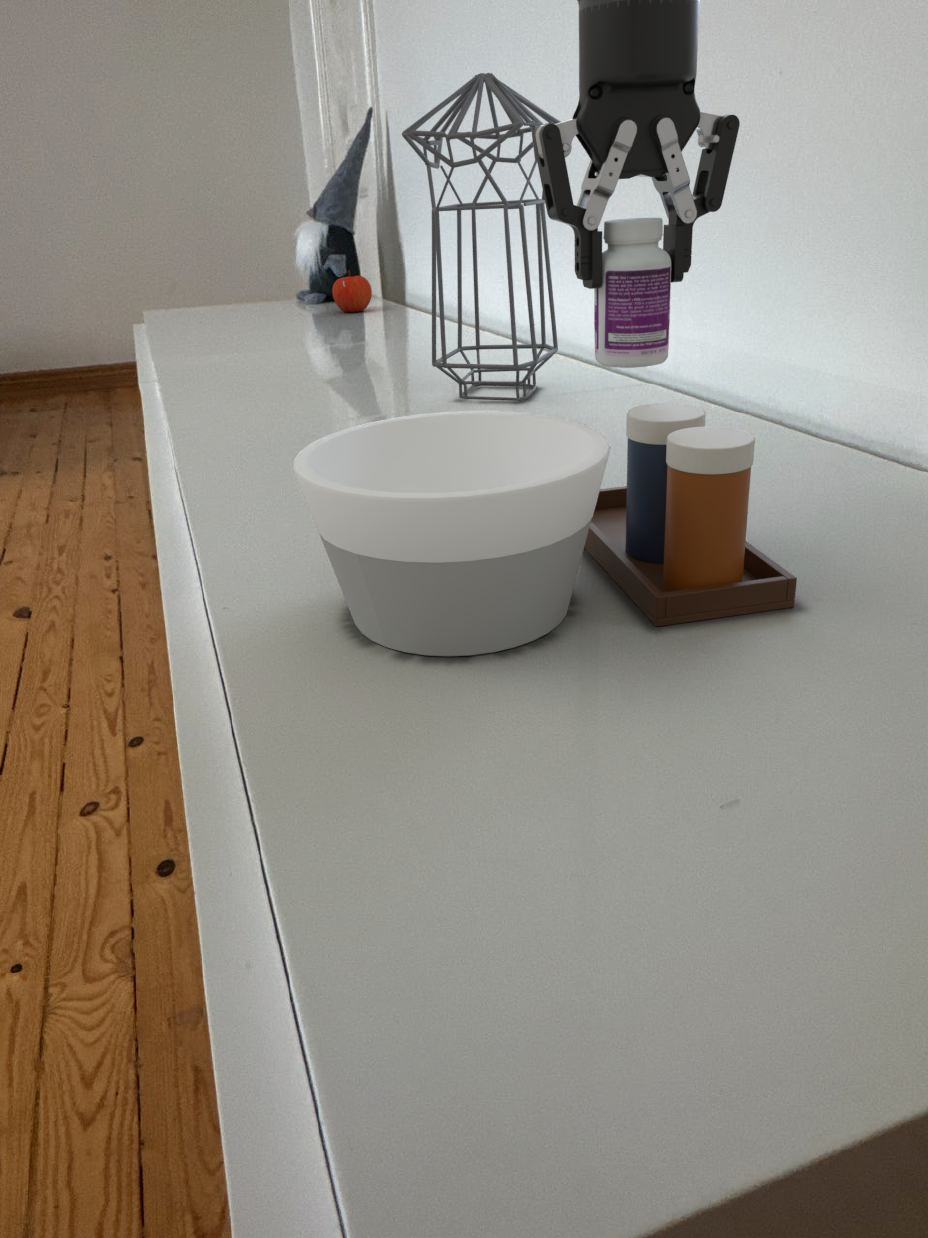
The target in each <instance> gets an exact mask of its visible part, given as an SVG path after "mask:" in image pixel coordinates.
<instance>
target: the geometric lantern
mask: <svg viewBox="0 0 928 1238" xmlns="http://www.w3.org/2000/svg"><path fill="white" fill-rule="evenodd" d="M484 85H485V89H486V94H487V100H488V103H489V109H490V110H489V111H490V114H491V119H492V125H493V127H491V128H487V129H483V130H478V125H479V119H480V112H481V106H482V98H483V92H484ZM493 95H494V96H495V98H496V99H497V100H498V102H499V105H500V106H501V107H502V110H504V112H505V114H506V116H507V118H508V119H509V121H510V123H508V124H505V125H500V126H499V123H498V117H497V111H496V108H495V102H494V97H493ZM475 97H476V100H475V107H474V114H473V121H472V126H471V131H459V129H460V128H461V126H462V123H463V121H464V119H465V117H466V115H467V113H468V111H469V109H470V107H471V105H472V103H473V101H474V99H475ZM451 102H453V103H452V104H451V106H450V107H449V108H448V109H447V110H446V112H445V113H444V114H443V115H442V116H441V117H440V118H439V119H438V121H437V122H436V123H435V124H434V125H433V126H432V128H431V129H430V130H418V129H419V128H420V127H422V125H424V124H425V123H427V121H429V120H430V119H431V118H432V117H434V116H435V115H436V114H437V113H439V112H440V111H441V110H443V109H445V107H446V106H448V105H449V104H450V103H451ZM533 112H534V113H535V114H536V115H538V116H539V117H540V118H541V119H543V120H544V121H545V122H546V123H543V121H541V120H540V119H539V118H538V117H537V116H536V115H535V114H534V113H533ZM561 122H562V121H561V120H559V119H558V118H556V117H554V116H553V115H551V114H550V113H548V112H547V111H545V110H544V109H543V108H541V107H540V106H538V105H537V104H535V103H533V102H532V101H530V100H529V99H528V98H526V97H524V96H523V95H522V94H520V93H519V92H517V91H515V89H513V88H511V87H510V86H508V85H507V84H505V82H502V81H501V80H500V79H498V78H497V77H496V75H494V74H493V73H492V72H487V73H484V72H480V73H478V74H475V75H474V76H473V77H472V78H470V79H469V80H468V81H467V82H466V83H464V84H463V85H462V86H461V87H459V88H458V89H456V90H455V91H454V92H453V93H452V94H451V95H449V96H448V97H446V98H445V99H444V100H443V101H442V102H440V103H438V104H437V105H436V106H435V107H433V108H432V109H431V110H429V111H428V112H427V113H425V114H424V115H423V116H421V117H420V118H419V119H417V120H416V121H414V123H412V124H411V125H409V126H408V127H407V128H406V129H405V130H403V131H402V133H401V137H402V138H403V139H404V140H405V141H406V143H407V144H408V145H409V146H410V147H411V149H412V150H413V151H414V152H415V153H416V154H417V156H418V157H419V158H420V159H421V161H422V162H423V163H424V165H425V166H426V172H427V180H428V188H429V196H430V204H431V365H432V367H434V368H437V369H438V370H439V371H440V372H442V373H444V375H446V376H448V377H449V378H450V379H451V380H453V381H454V382H455V383H457V384H458V391H459V392H458V394H459V396H458V397H459V399H462V400H477V401H479V400H480V401H481V400H483V401H511V402H521V401H524V400H528V398H529V397H531V395H532V394H533V393H534V392H535V391H536V390H537V389H538V385H537V380H536V373H537V371H538V370H539V369H540V368H541V367H543V365H545V363H547V362H548V361H549V360H550V359H551V358H552V357H553V356H554V355H555V354H556V353H557V352H558V351H559V344H558V343H559V342H558V335H557V334H558V332H557V323H556V311H555V301H554V291H553V281H552V269H551V259H550V250H549V239H548V228H547V218H546V204H545V199H544V194H543V190H542V193H541V198H539V196H538V194H537V192H536V190H535V188H534V186H533V184H532V182H531V180H532V177H533V174H534V171H535V169H536V167H537V165H538V163H537V158H536V153H535V148H534V143H533V138H532V137H531V140H532V141H531V142H530V143H529V144H528V145H527V146H526V147H525V148H524V149H523V144H524V135H525V134H527V133H531V135H532V134H533V131H534V129H535V128H536V127H537V126H540V125H546V124H557V123H561ZM443 124H444V125H443ZM451 124H452V125H451ZM442 125H443V126H442ZM450 126H451V127H450ZM523 126H524V127H525V128H522V127H523ZM440 127H441V129H440V130H439V128H440ZM449 127H450V129H449ZM448 129H449V131H448V132H447V130H448ZM437 130H439V131H437ZM446 132H447V133H446ZM503 132H505V133H503ZM518 137H519V145H518V155H516V156H515V157H503V156H502V157H501V156H500V155H501V146H502V144H503V143H504V142H505V141H506V140H507V139H512V138H518ZM431 138H433V139H432V140H431ZM444 138H445V141H446V142H445V143H446V147H447V151H448V157H449V158H448V157H446V156H445V155H444V154H442V150H443V149H442V147H443V142H444V141H443V139H444ZM476 139H482V140H495V141H494V142H493V143H491V144H490V145H488V147H487V148H485V149H484V148H482V147H481V146H480V145H477V144H476V142H475V140H476ZM451 140H458V141H460V142H461V143H463V144H465V145H467V146H468V147H470V148H471V151H472V155H473V158H467V159H464V160H459V161H454V156H453V155H454V154H453V150H452V145H451ZM415 142H416V143H417V144H416V143H415ZM418 145H420V146H421V147H422V150H421V149H420V148H419V146H418ZM495 149H496V155H494V154H492V152H493V151H494V150H495ZM532 149H533V154H534V155H533V156H534V162H533V164H532V167H531V169H530V172H529V174H528V175H527V173H526V171H525V169H524V167H523V165H522V163H521V162H522V158H524V157H525V156H526V155H527V154H528V153H529V152H530V151H531V150H532ZM428 152H429V153H431V154H432V155H433V161H430V160H429V159H428ZM477 152H478V153H479V154H478V153H477ZM485 157H486V158H488V159H489V160H491V163H490V165H489V167H488V168H487V166H486V164H485V163H484V161H483V159H484V158H485ZM441 161H442V162H443V163H444V164H445V165H447V166H449V167H450V170H449V173H447V171H446V169H445V167H444V166H443V165H441ZM497 163H508V164H517V165H518V167H519V169H520V171H521V173H522V175H523V176H524V178H525V180H526V182H525V185H524V186H523V190H522V192H521V195H520V197H519V199H515V200H514V199H512V200H507V198H506V197H505V195H504V194H503V192H502V190H501V188H500V187H499V185H498V184H497V182H496V181H495V179H494V177H493V175H492V172H493V170H494V168H495V166H496V164H497ZM474 164H478V165H479V166H480V169H481V170H482V171H483V173H484V177H483V180H482V181H481V183H480V185H479V187H478V189H477V192H476V194H475V196H474V198H473V199H472V202H463V201H462V200H461V197H460V196H459V194H458V192H457V190H456V188H455V187H454V185H453V183H452V181H451V177H452V175H453V173H454V170H455V168H460V167H465V166H469V165H474ZM432 169H436V170H439V169H441V171H442V173H443V175H444V177H445V179H446V180H445V183H444V185H443V188H442V190H441V193H440V196H439V199H438V201H437V203H436V197H435V189H434V181H433V173H432ZM488 181H489V183H490V184H491V186H492V188H493V189H494V191H495V193H496V194H497V196H498V197H499V199H500V200H499V201H498V200H497V201H484V202H483V201H482V202H478V200H479V198H480V196H481V194H482V192H483V191H484V188H485V186H486V184H487V182H488ZM448 185H449V186H450V188H451V190H452V192H453V193H454V195H455V197H456V199H457V201H458V203H454V204H448V205H442V206H441V203H442V201H443V198H444V196H445V193H446V190H447V188H448ZM528 187H529V188H530V190H531V192H532V194H533V196H534V198H527V199H524V197H525V194H526V192H527V189H528ZM534 205H535V219H536V222H535V223H536V243H537V265H538V284H539V285H538V288H539V289H538V290H539V314H540V336H541V337H540V340H541V343H537V339H536V330H535V329H536V328H535V318H534V317H535V316H534V306H533V296H532V284H531V283H532V282H531V273H530V262H529V261H530V260H529V252H528V240H527V230H526V229H527V228H526V217H525V207H529V206H534ZM497 209H498V210H499V209H503V222H504V223H503V224H504V240H505V254H506V255H505V256H506V270H507V271H506V272H507V286H508V302H509V315H510V316H509V317H510V332H511V333H510V334H511V344H481V335H480V329H481V328H480V305H479V304H480V303H479V301H480V300H479V299H480V298H479V275H478V273H479V272H478V244H477V243H478V241H477V217H476V216H477V215H476V213H477V212H476V210H497ZM509 210H518V214H519V225H520V238H521V248H522V256H523V257H522V259H523V269H524V279H525V288H526V289H525V291H526V301H527V313H528V322H529V335H530V343H522V344H521V343H519V344H518V340H517V339H518V338H517V326H516V325H517V324H516V311H515V310H516V309H515V293H514V280H513V277H514V276H513V263H512V247H511V233H510V232H511V231H510V221H509V220H510V219H509ZM455 211H456V257H457V259H456V262H457V263H456V264H457V265H456V266H457V267H456V268H457V272H456V273H457V275H456V277H457V347H456V348H455V349H453V350H452V351H450V352H447V343H446V342H447V341H446V339H447V338H446V323H445V322H446V321H445V302H444V282H443V280H444V279H443V263H442V244H441V243H442V242H441V240H442V239H441V224H440V223H441V221H440V212H455ZM462 211H471V241H472V243H471V245H472V272H473V273H472V275H473V299H474V301H473V303H474V330H475V332H474V333H475V345H464V346H463V264H462V263H463V261H462V260H463V259H462V258H463V255H462V253H463V251H462V249H463V248H462V246H463V245H462V243H463V241H462V231H463V230H462ZM543 250H544V261H545V272H546V282H547V283H546V284H547V292H548V303H549V304H548V305H549V312H550V323H551V333H552V345H551V344H547V340H546V339H547V338H546V337H547V335H546V313H545V312H546V310H545V308H546V307H545V287H544V263H543V262H544V261H543ZM437 289H438V290H437ZM437 291H438V307H439V309H438V310H439V329H440V345H441V346H440V347H441V357H439V358H437ZM521 349H522V350H523V349H524V350H527V349H528V350H529V349H531V351H532V352H531V353H532V360H531V361H527V362H523V363H520V364H519V357H518V356H519V355H518V350H521ZM537 349H539V350H537ZM480 350H512V359H513V360H512V361H513V364H498V363H497V364H491V363H490V364H489V363H481V357H480V356H481V355H480ZM544 350H549V351H547V352H546V353H544V354H543V355H542V353H543V352H544ZM464 351H476V363H471V362H470V360H469V359H468V357H467V355H466V353H465V352H464ZM458 353H460V354H461V356H462V358H463V360H464V361H465V362H466V363H448V359H450V358H451V357H453V356H455V355H456V354H458ZM446 369H447V370H448V371H447V370H446ZM454 369H467V370H468V369H470V371H469V372H468V373H467V374H465V375H464V376H463V377H462V378H461V376H459V374H457V372H456V371H454ZM526 371H527V373H526V374H525V375H524V377H523V378H522V380H520V372H526ZM497 372H499V373H501V372H515V381H509V380H508V381H503V380H502V381H500V380H499V381H497V380H496V381H495V380H494V381H493V380H491V381H490V380H484V381H483V380H482V373H497ZM475 373H478V375H477V377H478V378H477V380H475ZM469 377H470V379H471V380H467V379H468V378H469ZM531 377H532V384H531ZM467 385H470V386H469V387H468V386H467ZM477 387H512V388H513V387H515V397H508V396H507V397H504V396H474V395H468V393H469V392H470V391H471V390H472V389H474V388H477ZM521 387H522V396H521V397H520V388H521ZM527 388H531V389H530V390H529V392H528V393H527Z"/></svg>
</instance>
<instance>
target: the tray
mask: <svg viewBox="0 0 928 1238" xmlns="http://www.w3.org/2000/svg"><path fill="white" fill-rule="evenodd" d="M626 501H627V485H623V486H617V487H608V488H600V491H599V495H598V499H597V503H596V506H595V510H594V514H593V517H592V519H591V523H590V527H589V531H588V534H587V538H586V542H585V546H584V549H585V550H586V551H587V553H589V555H590V556H591V557H592V559H594V560H595V561H596V562H597V563H598V565H600V567H601V568H602V569H603V570H604V571H605V572H606V574H608V576H609V577H610V578H611V579H612V580H613V581H614V582H615V583H616V584H617V585H618V587H619V588H620V589H621V590H622V591H623V592H624V593H625V594H626V595H627V597H629V599H630V600H631V601H632V602H633V603H634V604H635V605H636V606H637V607H638V609H639V610H640V611H641V612H642V613H643V614H644V615H645V616H646V617H647V618H648V619H649V620H650V622H651V623H652V624H653V625H654V626H655V627H663V626H670V625H677V624H685V623H693V622H699V621H705V620H713V619H718V618H726V617H734V616H740V615H746V614H755V613H760V612H761V613H763V612H768V611H774V610H782V609H783V610H784V609H789V608H794V607H795V599H796V591H797V583H798V578H797V577H796V576H794V575H793V574H792V573H791V572H789V571H788V570H786V569H785V568H783V567H782V566H781V565H780V564H778V563H777V562H776V561H774V560H773V559H771V558H770V557H769V556H767V554H764V553H763V552H762V551H760V550H759V549H758V548H756V547H755V546H753V545H752V544H751V543H749V541H747V540H746V542H745V555H744V568H743V581H742V582H737V583H730V584H722V585H715V586H708V587H701V588H693V589H686V590H679V591H671V592H665V590H664V588H663V572H664V563H651V562H645V561H641V560H638V559H635V558H633V557H631V556H629V555H628V554H627V552H626Z"/></svg>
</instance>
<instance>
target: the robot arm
mask: <svg viewBox="0 0 928 1238" xmlns="http://www.w3.org/2000/svg"><path fill="white" fill-rule="evenodd" d="M700 1H701V0H576V2H577V5H578V95H579V96H578V103H577V106H576V107H575V111H574V113H573V115H572V118H571V119H568V120H564V121H561V123H557V124H547V123H545V124H546V125H540V126H537V127H536V128H535V129H534V131H533V134H532V133H531V139H532V138H533V140H532V141H533V143H534V148H535V153H536V158H537V168H538V173H539V178H540V184H541V189H542V191H543V194H544V199H545V204H544V205H545V210H546V214H547V216H548V218H549V219H550V220H552V221H556V222H559V223H562V224H565V225H568V226H569V227H570V228H571V229H572V230H573V235H574V272H575V276H576V278H577V279H578V280H581V281H582V286H583V287H584V288H586V289H589V290H592V289H593V290H594V289H595V288H601V285H602V252H603V231H602V230H599V226H600V225H601V221H602V218H603V216H604V213H605V210H606V207H607V205H608V202H609V200H610V198H611V197H612V196H613V194H614V192H615V191H616V187H617V184H618V181H619V180H626V179H627V180H628V179H632V178H634V177H639V178H651V181H652V183H653V187H654V189H655V190H656V192H657V193H658V195H659V197H660V199H661V202H662V203H661V204H662V206H663V209H664V211H665V214H666V217H667V219H668V222H667V223H668V224H663V236H662V237H663V238H662V249H663V250H665V251H666V252H667V253H668V254H669V256H670V259H671V284H672V283H681V282H683V280H684V276H685V275H684V274H686V273H689V271H690V269H691V266H692V255H693V254H692V253H693V250H692V249H693V231H694V229H693V228H694V224H695V222H696V221H697V220H698V219H699V218H701V217H702V216H705V215H707V214H709V213H715V212H717V211H719V210H720V209H721V207H722V205H723V201H724V196H725V191H726V187H727V182H728V178H729V174H730V169H731V166H732V161H733V156H734V153H735V149H736V143H737V139H738V135H739V130H740V119H739V117H738V116H737V115H735V114H722V115H719V114H718V115H717V114H714V113H713V114H712V113H708V112H702V111H701V107H700V105H699V104H698V101H697V98H696V92H695V89H696V88H695V87H696V80H697V73H698V71H697V70H698V50H699V49H698V48H699V24H700V5H701V4H700V3H701V2H700ZM695 131H696V134H697V145H698V147H699V148H700V149H701V153H700V157H699V161H698V166H697V167H698V168H697V171H696V177H695V181H694V186H693V189H692V190H691V188H690V184H691V177H690V175H689V171H688V168H687V165H686V163H685V159H684V155H683V153H682V152H683V151H684V150H685V148H686V146H687V144H688V142H689V141H690V139H691V138H692V136H693V134H694V133H695ZM575 137H576V139H577V140H578V142H579V143H580V145H581V146H582V148H583V150H584V151H585V153H586V154H587V156H588V157H589V159H590V160H589V163H588V166H587V168H586V171H585V174H584V177H583V180H582V183H581V185H580V186H581V187H580V190H581V191H580V195H579V198H578V201H577V203H576V204H574V199H573V195H572V194H573V193H572V188H571V183H570V178H569V172H568V166H567V162H566V161H567V160H566V158H567V157H568V156H570V154H571V153H572V143H573V139H574V138H575ZM534 148H533V149H534ZM692 191H693V192H692Z"/></svg>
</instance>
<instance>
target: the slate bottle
mask: <svg viewBox="0 0 928 1238" xmlns="http://www.w3.org/2000/svg"><path fill="white" fill-rule="evenodd" d="M706 413H707V412H706V410H705V409H704V408H702V407H700V406H697V405H693V404H687V403H678V402H659V403H658V402H657V403H656V402H655V403H648V404H647V403H646V404H642V405H638V406H635V407H631V408H630V409H628V410H627V412H626V427H625V428H626V431H625V434H626V437H627V450H626V453H627V455H626V486H627V501H626V552H627V554H628V555H629V556H631V557H633V558H635V559H638V560H641V561H645V562H651V563H664V545H665V519H666V492H667V466H668V465H667V463H666V448H667V436H668V435H669V434H670V433H672V432H674V431H677V430H680V429H685V428H691V427H703V426H706V415H707V414H706Z"/></svg>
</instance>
